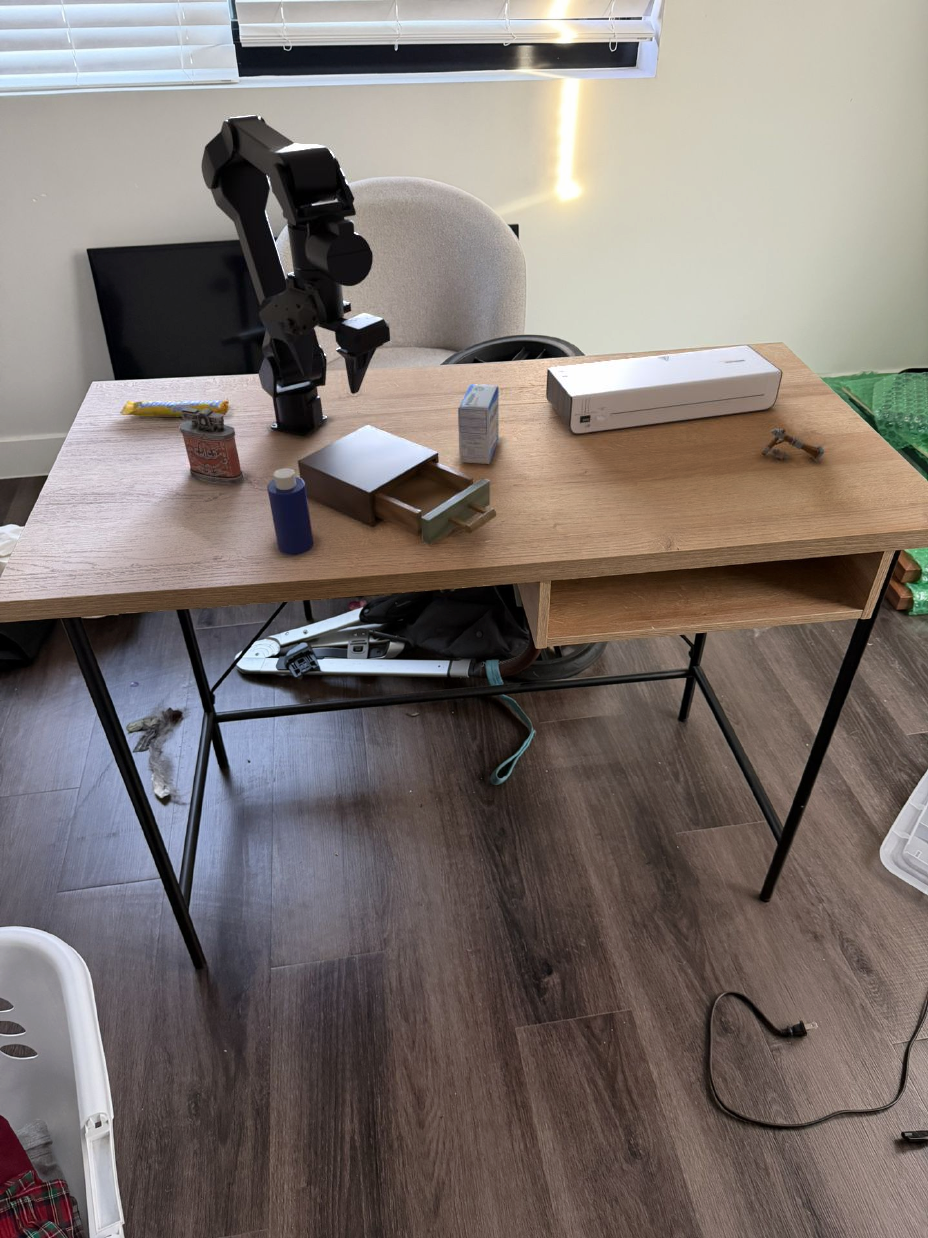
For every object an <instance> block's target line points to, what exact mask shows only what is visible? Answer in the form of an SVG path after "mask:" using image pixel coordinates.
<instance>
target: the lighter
mask: <svg viewBox="0 0 928 1238" xmlns="http://www.w3.org/2000/svg"><path fill="white" fill-rule="evenodd" d="M181 415H182V417H181V418H182V419H183V420H186V421H183V422H182V423H181V422H180V424H179V425H178V426H179V427H178V429H179V432H180V434H182V439H183V443H184V445H185V446H184V447H185V451H186V454H187V460H188V463H189V467H190V468H189V473H190V476H191V478H194V479H197V480H200V481H204V482H207V483H215V484H222V485H238V484H240V483H242V482H243V481H244V479H245V476H244V472H243V470H242V468H241V463H240V457H239V453H238V448H237V443H236V438H235V436H236V431H235V427H233V426H231V425H227V424H225V423H224V422H225V419H224V416H223V414H220V413H214V412H213V411H212V410H211V409H209V408H206V409H204V410H203V411H200V410H198V409H193V408H186V407H185V408H183V409H182V410H181Z"/></svg>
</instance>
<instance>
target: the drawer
mask: <svg viewBox="0 0 928 1238" xmlns="http://www.w3.org/2000/svg"><path fill="white" fill-rule="evenodd" d="M373 502H374V513H375V516H376V517H378V518H381V519H383V520H384V521H385V522H387V523H390V524H392V525H394V526H396V527H399V528H400V529H401V530H404V531H407V532H408V533H411V534H413V535H415V536H418V537H419V536H421V535H422V536H421V539H422V541H421V542H422V543H423V544H425V545H428V546H431V545H433V544H434V543H436V542H437V541H439V540H440V539H442V538H443V537H445V536H447V534H449V533H451V532H452V531H453V530H455V529H456V528H458V527H459V528H461V529H463V530H464V532H465V533H466V534H468V535H471V534H473V533H474V532H476V531H478V530H479V529H481V528H482V527H483V526H485V525H486V524H487V523H489V522H490V521H491V520H493V519H494V518H496V517H497V511H496V510H495V509H494V508H489V509H488V507H489V506H490V505H491V481H490V480H489V479H487V478H484V477H483V478H481V479H479V480H477V481H476V482H475V483H474V477H473V476H470V475H469V474H465V473H463V472H460V471H458V470H456V469H453V468H450V467H448V466H445V465H443V464H440V463H439V464H438V463H435V462H433V461H429V462H428V463H426V464H424V465H422V466H421V467H419V468H417V469H416V470H414V471H412V472H411V473H409V474H407V475H406V476H404V477H402V478H400V479H399V480H397V481H395V482H394V483H392V484H390V485H389V486H387V487H385V488H383V489H382V490H380V491H378V492H377V493H375V494H373ZM478 514H480V515H479V516H477V517H476V518H474V519H473V520H472V521H470V522H469V523H468V522H467V521H468V520H470V519H471V518H473V517H474V516H475V515H478Z"/></svg>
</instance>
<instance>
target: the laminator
mask: <svg viewBox="0 0 928 1238" xmlns="http://www.w3.org/2000/svg"><path fill="white" fill-rule="evenodd" d="M783 374H784V373H783V371H782V370H781V369H780V368H779V367H777V366H776V365H775V364H774V363H773V362H771V361H769V360H768V359H767V358H766V357H764V356H763V355H762V354H760V353H759V352H758V351H756V350H755V349H754V348H752V347H751V346H750V345H740V346H739V345H738V346H731V347H722V348H721V347H720V348H714V349H713V348H712V349H705V350H697V351H688V352H686V351H685V352H678V353H670V354H662V355H661V354H660V355H652V356H643V357H635V358H627V359H617V360H608V361H601V362H594V363H593V362H592V363H583V364H575V365H565V366H557V367H548V368H547V370H546V386H545V388H546V391H545V397H546V400H547V402H548V403H550V405H551V407H552V408H553V409H554V410H555V411H556V413H557V414H558V416H559V417H560V418H561V420H562V421H563V422H564V424H565V425H566V426H567V428H568V429H569V432H570V433H571V434H573V435H577V436H580V435H581V436H582V435H587V434H588V435H589V434H595V433H603V432H604V433H605V432H611V431H619V430H627V429H634V428H635V429H636V428H641V427H648V426H657V425H663V424H673V423H681V422H688V421H695V420H702V419H703V420H704V419H711V418H719V417H726V416H733V415H741V414H743V415H744V414H748V413H758V412H765V411H768V410H770V409H772V408H774V406H775V404H776V403H777V399H778V395H779V391H780V387H781V382H782V378H783Z"/></svg>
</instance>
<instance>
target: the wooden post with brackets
mask: <svg viewBox="0 0 928 1238" xmlns="http://www.w3.org/2000/svg"><path fill="white" fill-rule="evenodd" d="M771 434H772V435H773V438H772V439H771V441H770V442H769V443H768V444H767V445H765V447H764V450H762V452H761V455H762V457H766V456H767V455H768V454H770V453H771V454H772V455H774V457H775V458H776V459H777V458H779V459H780V460H781V461H783V460H787V458H788V454H787V453H786V451H782V450H780V448H779V447H778V448H777V449H774V447H775V446H778V445H780V444H784V443H787V444H788V445H789V446H791V447H793V448H795V449H797V450H798V451H799V450H801V451H803V452H805V453H807V454H808V455H810V456H811V457H812V459H813V461H814V462H816V463H817V462H818V461H819V460H820V459H821V457H822V456H823V455H824V453H825V450H824V447H823V446H822V445H818V446H813V445H810V444H807V443H804V442H803V441H802V440H800V439H798V438H797V437H795V436H790V435H789V434H787V433H786V429H785V428H780V429H779V428H778V427H777V428H773V429H772V430H771Z"/></svg>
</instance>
